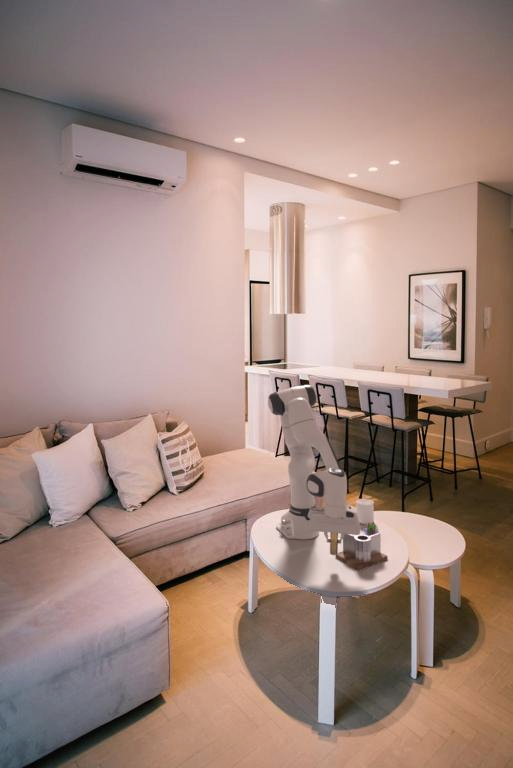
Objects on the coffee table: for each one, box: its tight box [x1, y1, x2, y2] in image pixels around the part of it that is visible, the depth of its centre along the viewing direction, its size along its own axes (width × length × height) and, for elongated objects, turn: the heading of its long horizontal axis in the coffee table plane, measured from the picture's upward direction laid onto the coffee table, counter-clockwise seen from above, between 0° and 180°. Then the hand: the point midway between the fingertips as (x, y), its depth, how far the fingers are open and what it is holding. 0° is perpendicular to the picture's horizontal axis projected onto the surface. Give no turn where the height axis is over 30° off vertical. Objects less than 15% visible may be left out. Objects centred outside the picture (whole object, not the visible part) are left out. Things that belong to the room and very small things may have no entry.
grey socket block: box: [342, 532, 382, 563], centre depth 195 cm, size 13×13×9 cm
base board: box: [335, 550, 388, 571], centre depth 195 cm, size 14×16×2 cm
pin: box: [329, 532, 339, 556], centre depth 187 cm, size 3×3×12 cm
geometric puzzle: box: [362, 523, 380, 536], centre depth 214 cm, size 7×7×8 cm
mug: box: [355, 498, 375, 525], centre depth 235 cm, size 12×8×10 cm
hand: (334, 542), depth 187 cm, fingers closed on pin, 3 cm apart
